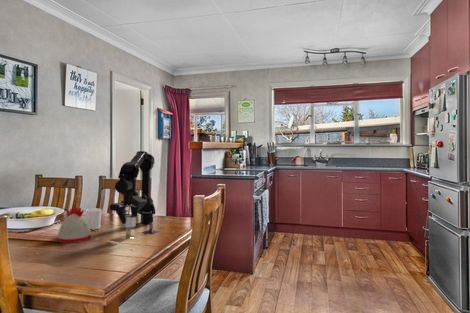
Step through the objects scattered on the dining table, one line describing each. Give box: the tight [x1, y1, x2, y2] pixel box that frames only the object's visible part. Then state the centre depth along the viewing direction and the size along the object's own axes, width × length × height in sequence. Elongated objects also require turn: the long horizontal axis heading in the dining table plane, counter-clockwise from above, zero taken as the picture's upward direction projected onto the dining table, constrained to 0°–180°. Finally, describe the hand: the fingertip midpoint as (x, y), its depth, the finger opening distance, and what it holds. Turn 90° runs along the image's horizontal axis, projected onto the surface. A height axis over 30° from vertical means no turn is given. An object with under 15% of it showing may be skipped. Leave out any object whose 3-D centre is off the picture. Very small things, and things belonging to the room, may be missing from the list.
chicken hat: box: [57, 206, 92, 244], centre depth 143 cm, size 14×14×15 cm
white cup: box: [85, 208, 103, 231], centre depth 162 cm, size 8×8×10 cm
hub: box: [120, 227, 137, 240], centre depth 144 cm, size 7×7×5 cm
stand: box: [140, 222, 161, 236], centre depth 154 cm, size 7×7×6 cm
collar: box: [121, 214, 137, 228], centre depth 144 cm, size 6×6×4 cm
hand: (128, 222), depth 144 cm, fingers closed on collar, 6 cm apart
